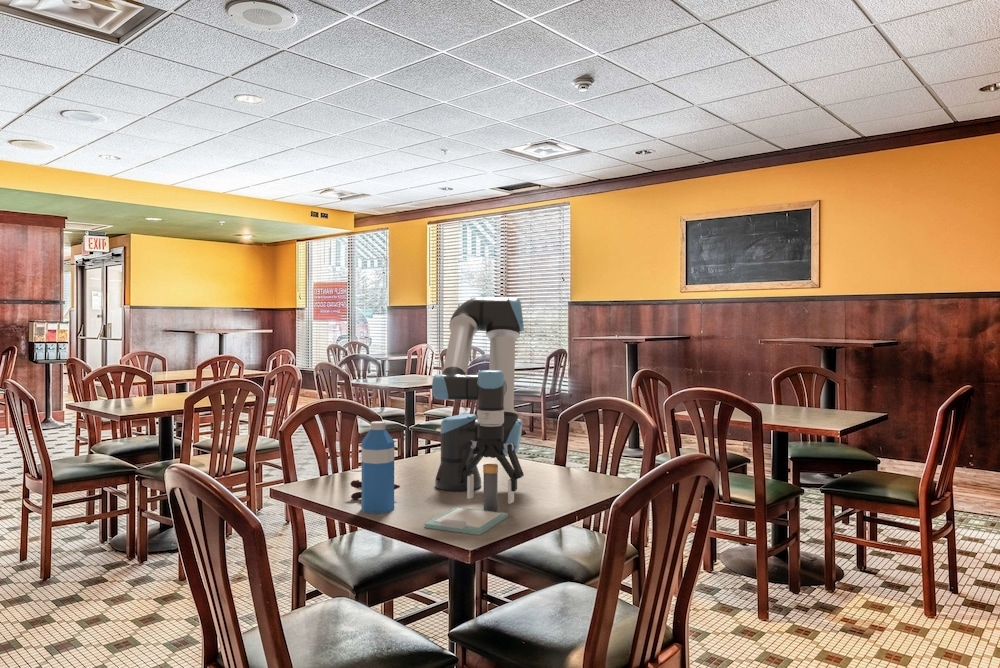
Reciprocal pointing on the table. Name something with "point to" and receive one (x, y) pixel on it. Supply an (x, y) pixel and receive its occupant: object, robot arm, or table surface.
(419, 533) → the table surface
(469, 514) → the clipboard
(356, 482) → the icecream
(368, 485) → the water bottle
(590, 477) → the table surface
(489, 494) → the marker
